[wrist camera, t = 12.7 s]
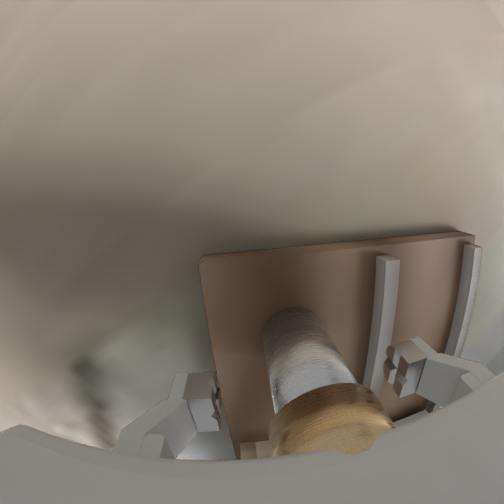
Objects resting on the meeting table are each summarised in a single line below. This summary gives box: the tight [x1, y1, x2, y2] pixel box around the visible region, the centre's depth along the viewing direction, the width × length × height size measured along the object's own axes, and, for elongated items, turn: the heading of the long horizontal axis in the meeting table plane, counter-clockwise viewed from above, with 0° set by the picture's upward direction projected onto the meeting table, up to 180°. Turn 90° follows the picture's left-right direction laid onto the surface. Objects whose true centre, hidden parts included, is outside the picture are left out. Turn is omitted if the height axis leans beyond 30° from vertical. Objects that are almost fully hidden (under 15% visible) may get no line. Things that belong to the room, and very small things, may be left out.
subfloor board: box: [198, 231, 482, 460], centre depth 15 cm, size 16×26×2 cm, turn 5°
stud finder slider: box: [393, 409, 429, 427], centre depth 14 cm, size 5×8×3 cm, turn 5°
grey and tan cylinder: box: [262, 307, 396, 457], centre depth 9 cm, size 4×4×8 cm
